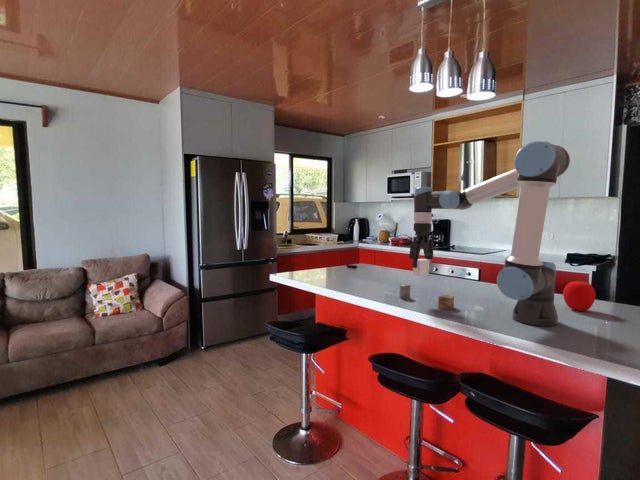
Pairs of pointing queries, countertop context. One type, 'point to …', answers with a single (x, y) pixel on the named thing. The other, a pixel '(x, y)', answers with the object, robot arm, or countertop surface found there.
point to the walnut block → (446, 302)
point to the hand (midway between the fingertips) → (421, 274)
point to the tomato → (579, 295)
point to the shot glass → (423, 267)
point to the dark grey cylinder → (404, 291)
